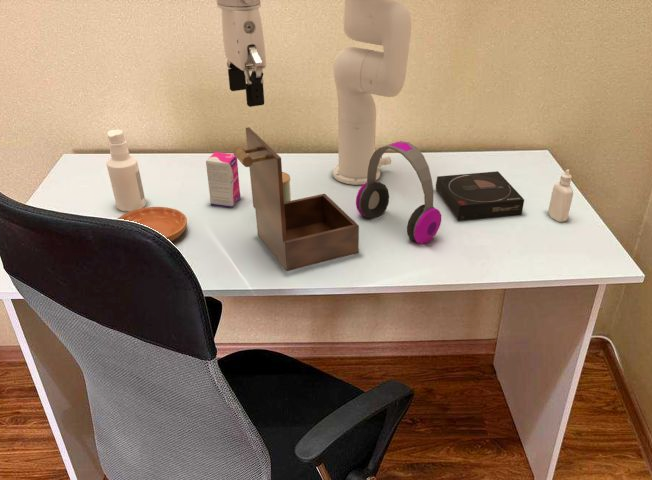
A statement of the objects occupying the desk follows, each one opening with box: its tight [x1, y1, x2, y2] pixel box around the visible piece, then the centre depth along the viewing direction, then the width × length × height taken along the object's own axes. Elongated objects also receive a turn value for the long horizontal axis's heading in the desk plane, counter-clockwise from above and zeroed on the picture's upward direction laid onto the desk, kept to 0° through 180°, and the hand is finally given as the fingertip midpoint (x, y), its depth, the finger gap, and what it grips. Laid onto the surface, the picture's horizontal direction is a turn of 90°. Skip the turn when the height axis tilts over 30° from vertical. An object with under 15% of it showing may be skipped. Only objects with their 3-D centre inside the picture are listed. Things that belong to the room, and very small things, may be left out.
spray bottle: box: [106, 129, 147, 212], centre depth 153 cm, size 7×7×18 cm
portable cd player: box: [435, 170, 525, 222], centre depth 164 cm, size 16×17×4 cm
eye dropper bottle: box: [547, 169, 574, 223], centre depth 156 cm, size 4×6×12 cm
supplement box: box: [205, 151, 241, 209], centre depth 158 cm, size 6×6×12 cm
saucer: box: [117, 206, 188, 243], centre depth 148 cm, size 16×16×3 cm
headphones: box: [355, 140, 442, 245], centre depth 147 cm, size 21×9×20 cm, turn 45°
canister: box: [282, 171, 292, 202], centre depth 154 cm, size 7×7×10 cm
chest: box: [254, 193, 360, 272], centre depth 144 cm, size 17×17×7 cm
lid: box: [232, 126, 286, 241], centre depth 131 cm, size 17×17×6 cm
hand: (246, 97), depth 125 cm, fingers open, 9 cm apart
